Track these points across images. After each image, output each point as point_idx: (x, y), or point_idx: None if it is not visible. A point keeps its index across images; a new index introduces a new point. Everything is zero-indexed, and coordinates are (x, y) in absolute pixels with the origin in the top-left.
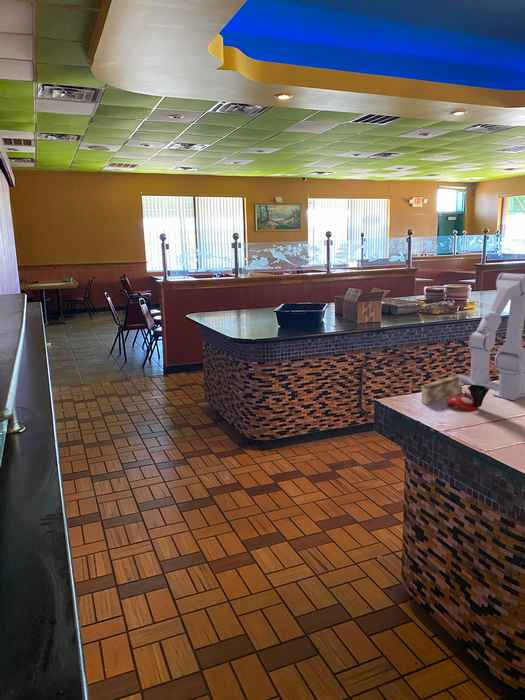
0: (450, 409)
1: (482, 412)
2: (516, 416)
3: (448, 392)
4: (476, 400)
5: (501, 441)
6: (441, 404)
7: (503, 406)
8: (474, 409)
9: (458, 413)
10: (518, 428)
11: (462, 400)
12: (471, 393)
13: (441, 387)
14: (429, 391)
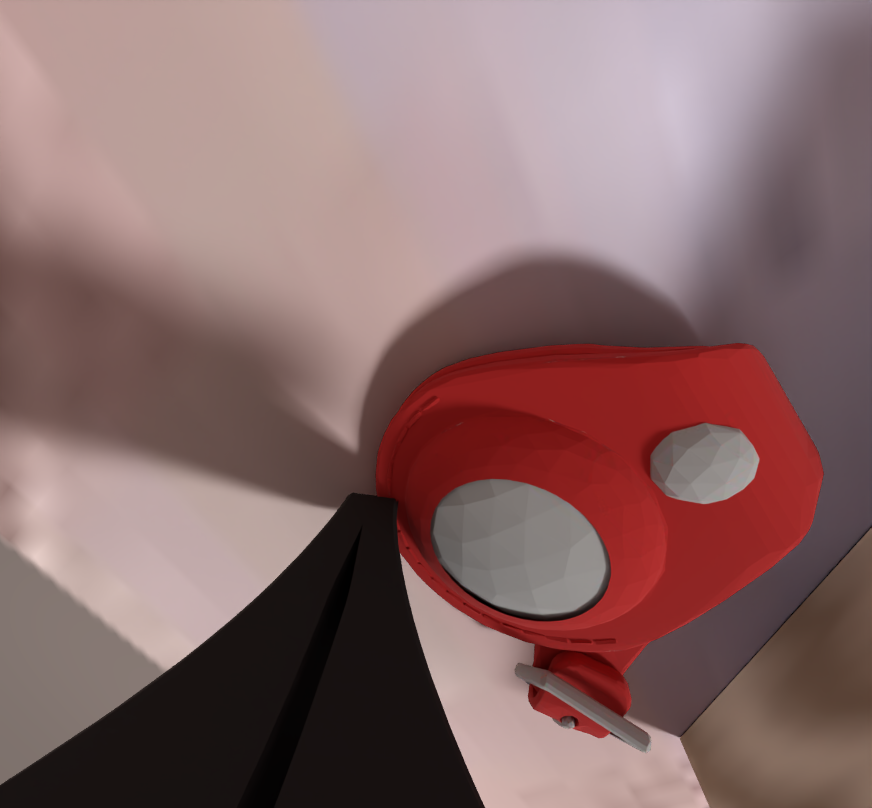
0: (656, 289)
1: (279, 443)
2: (15, 527)
3: (826, 684)
4: (328, 561)
5: None
6: (830, 399)
7: None
8: (381, 458)
9: (483, 197)
10: None
11: (557, 500)
12: (407, 684)
13: None
14: None
